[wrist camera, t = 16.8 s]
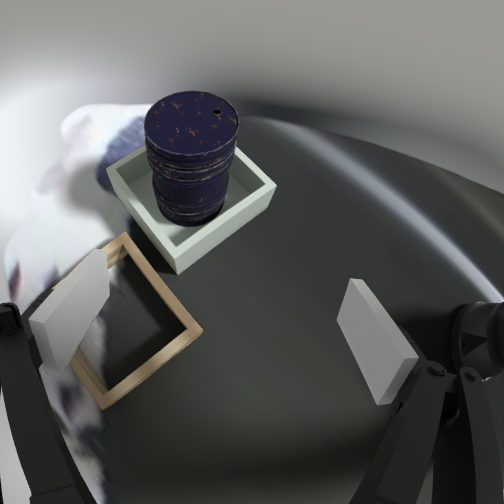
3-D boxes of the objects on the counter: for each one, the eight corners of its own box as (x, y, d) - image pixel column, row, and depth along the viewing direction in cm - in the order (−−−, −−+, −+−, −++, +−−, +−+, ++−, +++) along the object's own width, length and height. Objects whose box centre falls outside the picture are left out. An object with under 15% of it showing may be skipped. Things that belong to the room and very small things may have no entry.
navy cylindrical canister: (171, 239, 38) (160, 170, 24) (146, 183, 41) (131, 106, 27) (238, 211, 41) (258, 137, 28) (207, 160, 44) (215, 82, 30)
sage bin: (199, 141, 46) (201, 115, 41) (266, 208, 44) (276, 185, 38) (115, 192, 40) (105, 168, 35) (177, 275, 38) (174, 259, 32)
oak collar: (130, 242, 38) (125, 231, 35) (202, 332, 36) (202, 329, 32) (46, 308, 32) (34, 303, 29) (110, 406, 30) (102, 409, 27)
